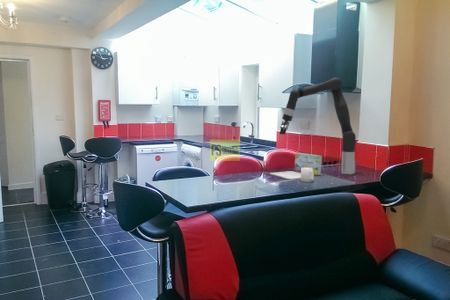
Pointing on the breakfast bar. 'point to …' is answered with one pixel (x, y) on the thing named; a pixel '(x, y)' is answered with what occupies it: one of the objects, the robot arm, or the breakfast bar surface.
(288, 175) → the mat
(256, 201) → the breakfast bar surface
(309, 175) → the mug
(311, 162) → the snack box
